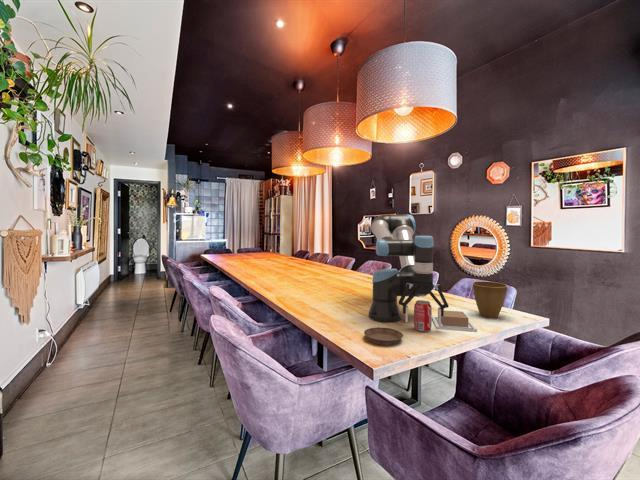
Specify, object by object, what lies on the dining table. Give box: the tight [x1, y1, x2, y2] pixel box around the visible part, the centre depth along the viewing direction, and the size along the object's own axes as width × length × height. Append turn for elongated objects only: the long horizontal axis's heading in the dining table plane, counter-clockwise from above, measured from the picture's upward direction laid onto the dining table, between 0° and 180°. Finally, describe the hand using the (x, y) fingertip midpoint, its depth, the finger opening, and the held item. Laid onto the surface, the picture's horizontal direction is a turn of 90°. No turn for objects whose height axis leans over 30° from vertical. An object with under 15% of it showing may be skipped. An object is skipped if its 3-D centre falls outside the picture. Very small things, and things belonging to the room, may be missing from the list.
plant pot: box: [472, 280, 508, 319], centre depth 145 cm, size 15×15×16 cm
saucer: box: [363, 327, 404, 346], centre depth 114 cm, size 15×15×3 cm
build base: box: [432, 310, 478, 333], centre depth 132 cm, size 16×14×5 cm
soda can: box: [413, 299, 433, 333], centre depth 125 cm, size 7×7×12 cm
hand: (422, 322), depth 125 cm, fingers open, 12 cm apart
